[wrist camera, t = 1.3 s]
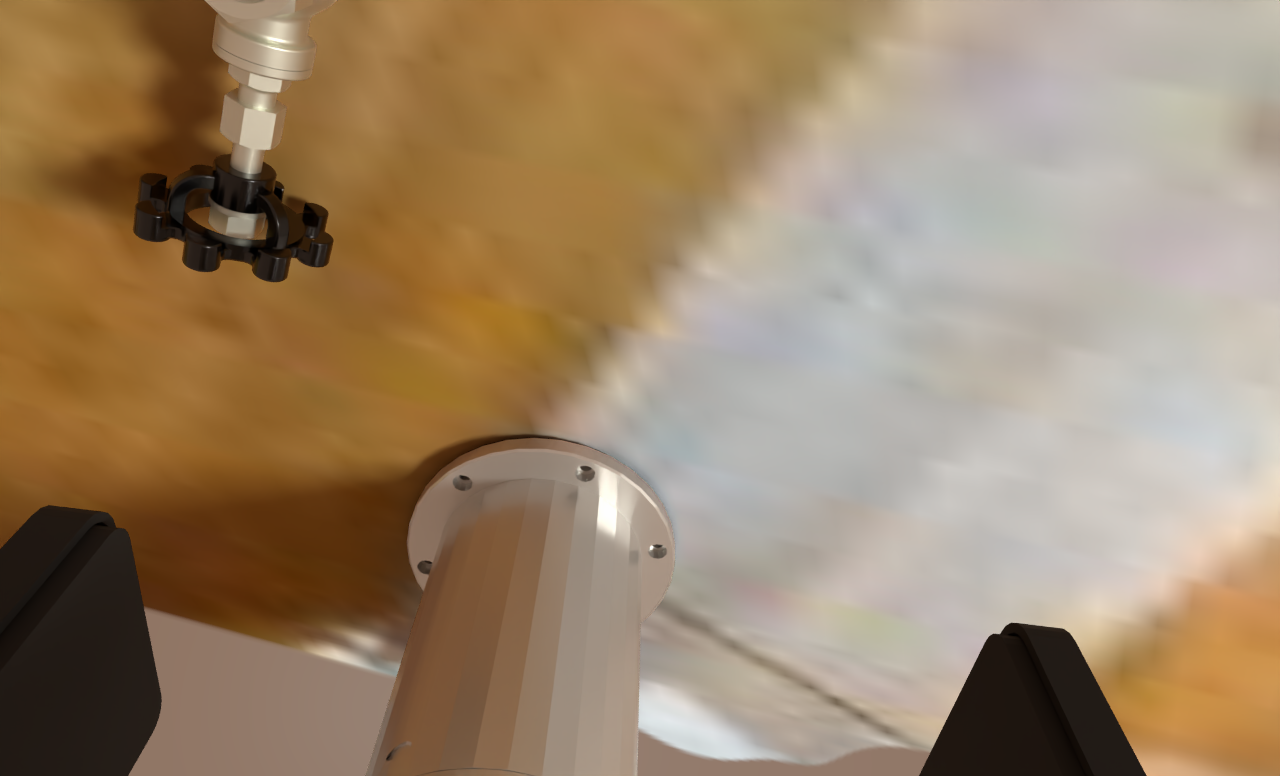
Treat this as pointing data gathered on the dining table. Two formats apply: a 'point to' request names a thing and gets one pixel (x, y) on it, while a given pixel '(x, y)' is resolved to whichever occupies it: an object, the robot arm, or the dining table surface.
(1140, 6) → the dining table surface
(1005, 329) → the dining table surface
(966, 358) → the dining table surface
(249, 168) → the valve
